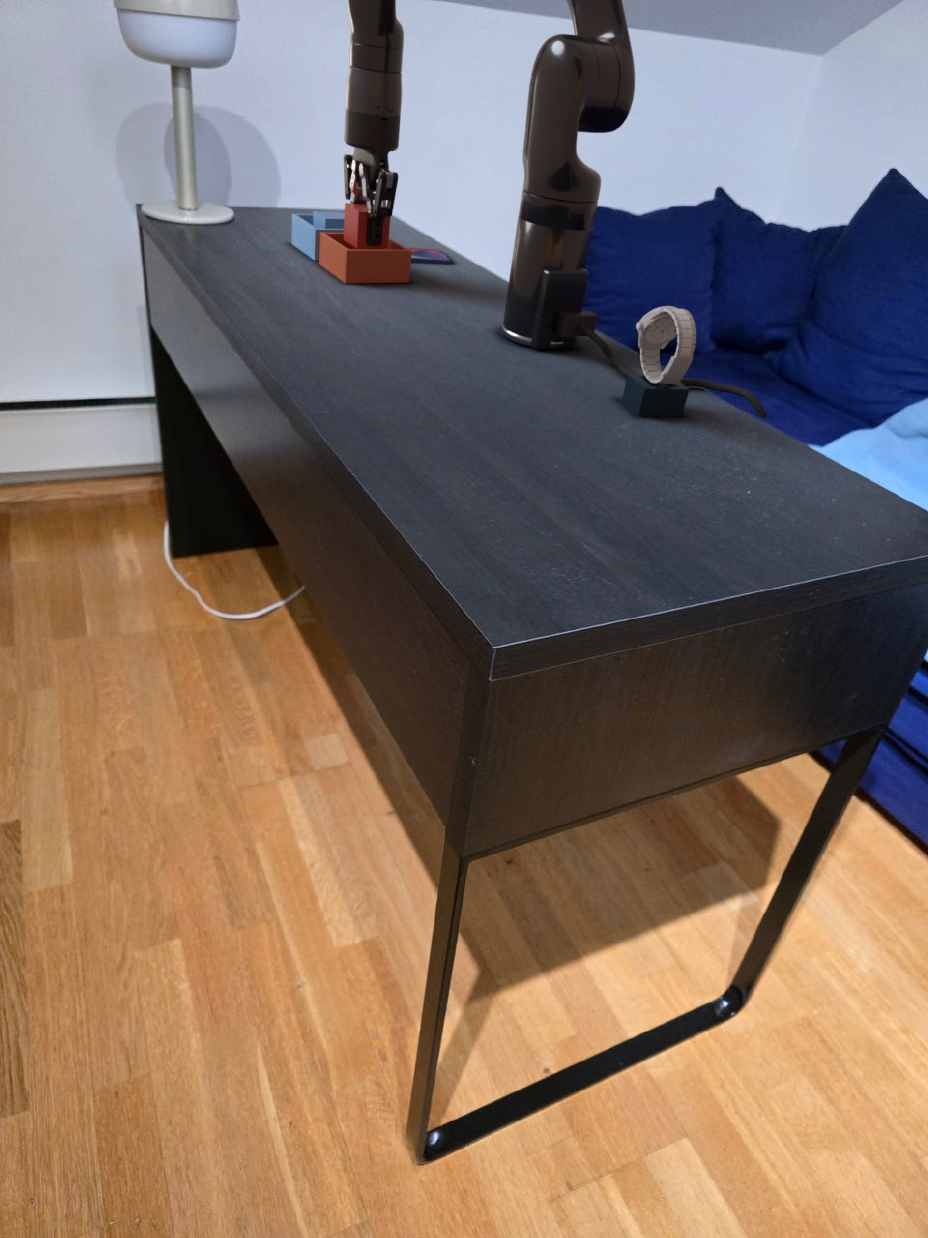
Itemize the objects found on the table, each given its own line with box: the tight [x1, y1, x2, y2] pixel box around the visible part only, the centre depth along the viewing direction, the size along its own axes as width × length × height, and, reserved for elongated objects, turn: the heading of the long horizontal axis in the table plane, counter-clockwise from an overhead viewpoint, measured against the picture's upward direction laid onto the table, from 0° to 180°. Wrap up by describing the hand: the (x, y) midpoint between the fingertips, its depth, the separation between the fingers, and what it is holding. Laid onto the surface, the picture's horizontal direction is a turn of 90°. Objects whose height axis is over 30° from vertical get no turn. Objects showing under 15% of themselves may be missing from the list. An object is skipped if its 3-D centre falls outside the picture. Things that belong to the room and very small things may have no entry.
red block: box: [344, 202, 391, 249], centre depth 128 cm, size 5×5×5 cm
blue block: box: [312, 210, 345, 229], centre depth 138 cm, size 5×5×5 cm
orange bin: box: [318, 233, 412, 284], centre depth 130 cm, size 10×10×4 cm
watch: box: [621, 305, 697, 417], centre depth 96 cm, size 6×8×11 cm
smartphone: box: [407, 247, 452, 265], centre depth 143 cm, size 7×15×1 cm, turn 108°
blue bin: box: [291, 213, 344, 262], centre depth 139 cm, size 10×10×4 cm
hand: (366, 239), depth 129 cm, fingers closed on red block, 5 cm apart
